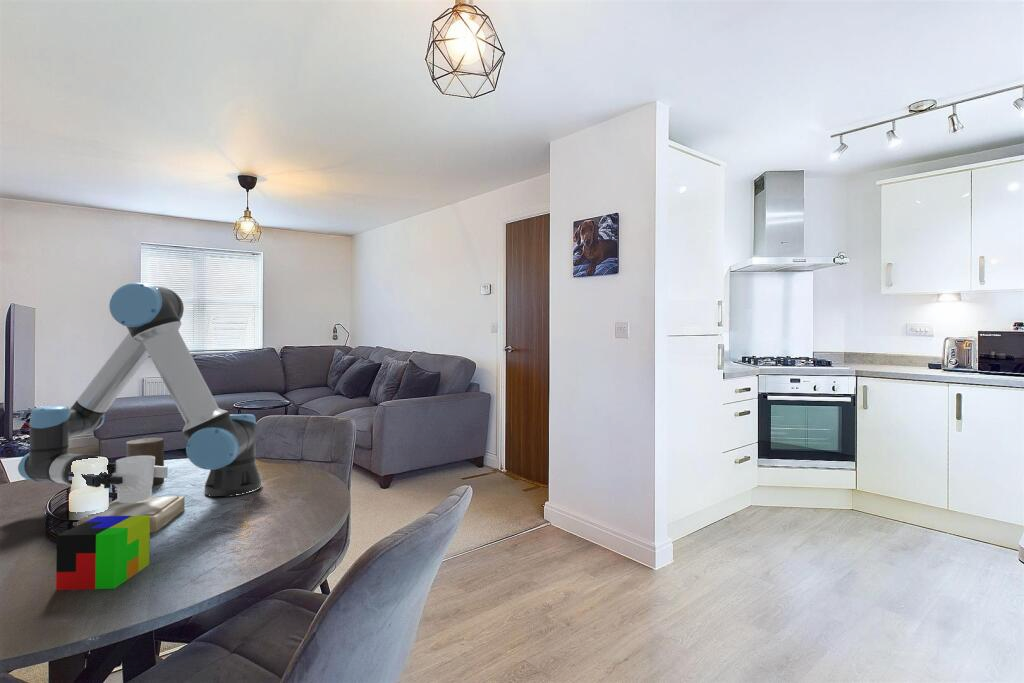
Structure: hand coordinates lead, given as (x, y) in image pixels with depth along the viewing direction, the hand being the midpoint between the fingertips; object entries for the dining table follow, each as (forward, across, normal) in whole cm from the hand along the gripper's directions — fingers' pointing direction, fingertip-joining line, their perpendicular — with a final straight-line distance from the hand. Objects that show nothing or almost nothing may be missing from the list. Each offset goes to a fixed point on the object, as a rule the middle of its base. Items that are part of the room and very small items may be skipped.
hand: (151, 476), depth 124 cm
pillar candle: (-33, -28, -12) cm, 45 cm away
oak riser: (-5, 0, -12) cm, 13 cm away
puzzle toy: (+17, +24, -12) cm, 32 cm away
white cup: (-5, 0, -6) cm, 8 cm away
